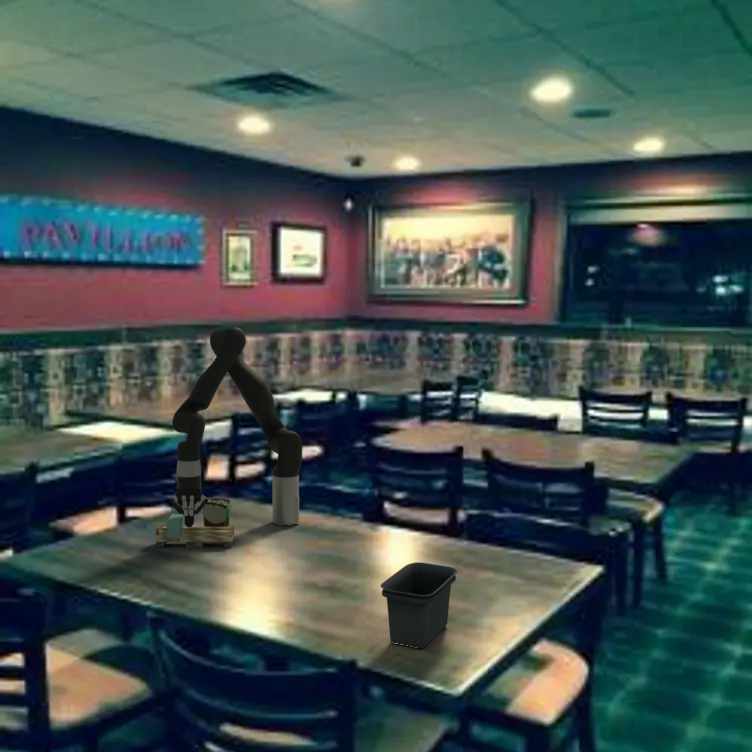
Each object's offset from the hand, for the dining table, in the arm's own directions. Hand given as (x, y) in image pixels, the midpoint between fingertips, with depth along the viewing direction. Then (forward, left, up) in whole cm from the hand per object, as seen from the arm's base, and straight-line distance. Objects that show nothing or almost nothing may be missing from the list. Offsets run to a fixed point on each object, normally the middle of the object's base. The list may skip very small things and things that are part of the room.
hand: (189, 526), depth 273 cm
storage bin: (-67, +72, -6) cm, 98 cm away
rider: (+4, 0, -2) cm, 5 cm away
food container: (-7, -20, -6) cm, 22 cm away
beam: (-2, 0, -6) cm, 6 cm away
